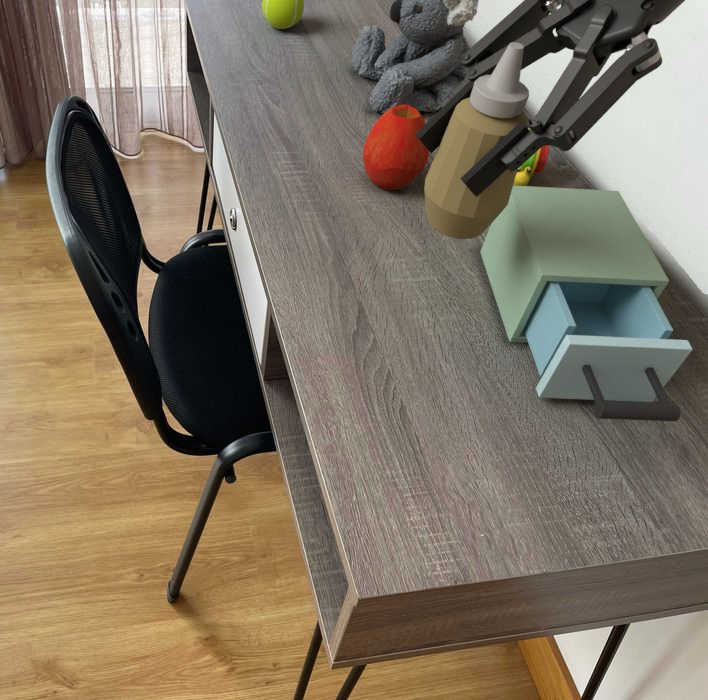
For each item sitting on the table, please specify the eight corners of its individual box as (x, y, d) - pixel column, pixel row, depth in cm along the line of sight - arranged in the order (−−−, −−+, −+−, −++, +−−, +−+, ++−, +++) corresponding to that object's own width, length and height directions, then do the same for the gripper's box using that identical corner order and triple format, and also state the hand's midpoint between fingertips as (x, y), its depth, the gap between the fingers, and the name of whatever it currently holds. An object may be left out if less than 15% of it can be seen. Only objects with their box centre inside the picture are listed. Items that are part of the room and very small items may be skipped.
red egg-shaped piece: (431, 195, 95) (454, 120, 87) (373, 203, 93) (391, 128, 85) (403, 159, 100) (422, 85, 92) (347, 167, 98) (362, 92, 90)
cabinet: (625, 347, 78) (669, 280, 71) (509, 342, 78) (542, 274, 71) (583, 257, 88) (618, 190, 81) (479, 252, 87) (506, 184, 80)
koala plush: (344, 63, 117) (367, -71, 103) (450, 61, 120) (487, -70, 105) (374, 121, 106) (404, -20, 91) (490, 117, 109) (538, -21, 94)
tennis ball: (257, 32, 122) (260, -11, 117) (263, 15, 127) (267, -28, 122) (298, 38, 122) (303, -5, 117) (303, 20, 127) (308, -22, 121)
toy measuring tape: (487, 196, 95) (504, 152, 90) (488, 119, 108) (502, 77, 103) (537, 205, 95) (557, 161, 90) (532, 127, 107) (548, 85, 103)
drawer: (675, 451, 68) (721, 400, 62) (555, 447, 68) (589, 394, 62) (607, 305, 81) (639, 251, 75) (505, 301, 81) (530, 246, 75)
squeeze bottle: (410, 194, 76) (459, 19, 62) (488, 200, 76) (553, 27, 62) (420, 245, 70) (475, 65, 57) (504, 251, 70) (579, 73, 57)
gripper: (768, 37, 56) (526, 247, 63) (593, -57, 68) (405, 130, 75) (760, -29, 51) (496, 210, 58) (572, -118, 62) (370, 90, 69)
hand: (445, 165), depth 66 cm, fingers closed on squeeze bottle, 6 cm apart
